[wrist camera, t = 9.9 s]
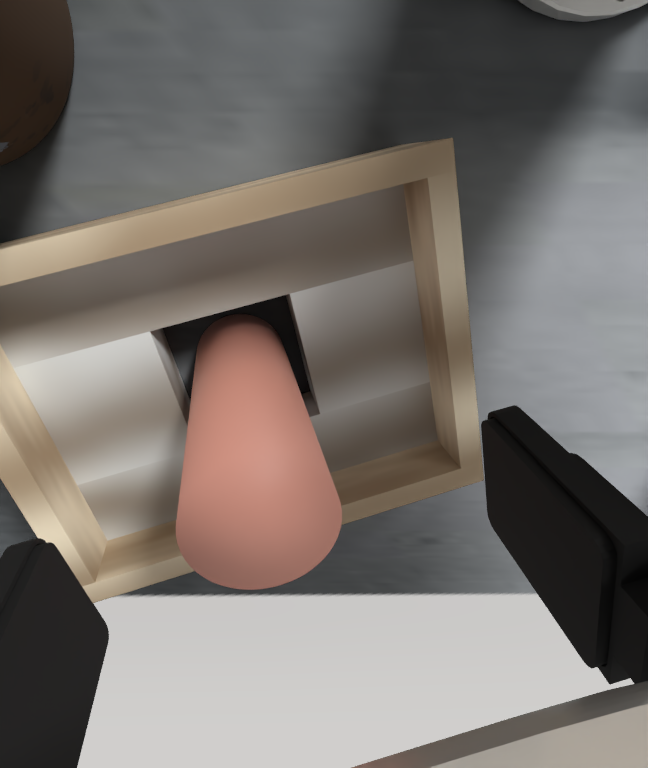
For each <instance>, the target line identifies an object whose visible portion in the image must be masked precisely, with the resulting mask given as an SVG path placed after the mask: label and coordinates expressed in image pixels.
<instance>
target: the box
mask: <svg viewBox="0 0 648 768" xmlns="http://www.w3.org/2000/svg"><path fill="white" fill-rule="evenodd" d="M283 295H286V297H287V301H288V305H289V309H290V313H291V317H292V321H293V325H294V328H295V332H296V336H297V340H298V344H299V348H300V352H301V356H302V359H303V363H304V367H305V371H306V375H307V379H308V383H309V387H310V392H306V393H303V394H301V395H302V398H303V401H304V403H305V406H306V409H307V412H308V414H309V417H310V420H311V423H312V425H313V428H314V431H315V433H316V436H317V439H318V442H319V444H320V447H321V450H322V453H323V455H324V458H325V461H326V464H327V466H328V469H329V472H330V474H331V477H332V480H333V483H334V485H335V488H336V491H337V494H338V496H339V499H340V502H341V508H342V523H341V525H343V524H346V523H349V522H352V521H356V520H359V519H362V518H365V517H368V516H372V515H375V514H378V513H381V512H384V511H387V510H391V509H394V508H397V507H400V506H403V505H407V504H410V503H413V502H416V501H419V500H422V499H426V498H429V497H432V496H435V495H438V494H442V493H445V492H448V491H451V490H454V489H457V488H461V487H464V486H467V485H470V484H473V483H477V482H480V481H483V480H484V477H483V466H482V455H481V443H480V432H479V421H478V410H477V399H476V388H475V377H474V366H473V355H472V344H471V332H470V321H469V310H468V299H467V288H466V277H465V266H464V255H463V244H462V232H461V221H460V210H459V199H458V188H457V177H456V166H455V155H454V144H453V138H447V139H440V140H432V141H425V142H417V143H410V144H402V145H398V146H394V147H390V148H386V149H381V150H377V151H373V152H369V153H365V154H361V155H357V156H353V157H349V158H345V159H341V160H337V161H333V162H329V163H325V164H321V165H317V166H312V167H308V168H304V169H300V170H296V171H292V172H288V173H284V174H280V175H276V176H272V177H268V178H264V179H260V180H256V181H252V182H247V183H243V184H239V185H235V186H231V187H227V188H223V189H219V190H215V191H211V192H207V193H203V194H199V195H195V196H191V197H187V198H183V199H178V200H174V201H170V202H166V203H162V204H158V205H154V206H150V207H146V208H142V209H138V210H134V211H130V212H126V213H122V214H118V215H113V216H109V217H105V218H101V219H97V220H93V221H89V222H85V223H81V224H77V225H73V226H69V227H65V228H61V229H57V230H53V231H49V232H44V233H40V234H36V235H32V236H28V237H24V238H20V239H16V240H12V241H8V242H4V243H0V479H1V480H2V482H3V483H4V485H5V486H6V488H7V490H8V491H9V493H10V494H11V496H12V498H13V499H14V501H15V502H16V504H17V506H18V507H19V509H20V510H21V512H22V513H23V515H24V517H25V518H26V520H27V521H28V523H29V525H30V526H31V528H32V529H33V531H34V533H35V534H36V536H37V537H38V538H41V539H43V540H45V541H46V543H48V542H51V543H53V544H54V545H55V546H56V547H57V548H58V550H59V552H60V553H61V555H62V556H63V558H64V559H65V561H66V562H67V564H68V565H69V567H70V569H71V570H72V572H73V573H74V575H75V576H76V578H77V579H78V581H79V583H80V584H81V586H82V587H83V589H84V590H85V592H86V593H87V595H88V596H89V598H90V600H91V601H92V603H95V602H98V601H101V600H104V599H107V598H111V597H114V596H117V595H120V594H123V593H127V592H130V591H133V590H136V589H139V588H143V587H146V586H149V585H152V584H155V583H158V582H162V581H165V580H168V579H171V578H174V577H178V576H181V575H184V574H187V573H190V572H193V571H195V570H193V569H192V568H191V567H190V566H189V564H188V563H187V562H186V561H185V559H184V557H183V556H182V554H181V552H180V549H179V547H178V544H177V539H176V519H177V511H178V503H179V494H180V486H181V478H182V469H183V461H184V453H185V444H186V436H187V428H188V419H189V411H190V403H191V401H190V399H189V396H188V394H187V391H186V388H185V386H184V383H183V380H182V378H181V375H180V373H179V370H178V367H177V365H176V362H175V360H174V357H173V354H172V352H171V349H170V347H169V344H168V341H167V339H166V336H165V334H164V331H163V328H164V327H168V326H172V325H175V324H179V323H183V322H187V321H190V320H194V319H198V318H201V317H205V316H209V315H213V314H216V313H220V312H224V311H228V310H231V309H235V308H239V307H242V306H246V305H250V304H254V303H257V302H261V301H265V300H268V299H272V298H276V297H280V296H283Z"/></svg>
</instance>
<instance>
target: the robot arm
mask: <svg viewBox="0 0 648 768" xmlns="http://www.w3.org/2000/svg"><path fill="white" fill-rule="evenodd" d="M518 1H520V2H521V3H523V4H524V5H525V6H527V7H528V8H530V9H531V10H533V11H536V12H538V13H541V14H544V15H547V16H549V17H552V18H555V19H557V20H567V21H578V22H588V21H594V20H600V19H606V18H612V17H614V16H617V15H619V14H622V13H625V12H627V11H630V10H633V9H636V8H639V7H641V6H643V5H645V4H647V3H648V0H518ZM481 429H482V443H483V457H484V471H485V485H486V499H487V512H488V517H489V520H490V523H491V525H492V527H493V529H494V531H495V532H496V534H497V535H498V536H499V538H500V539H501V541H502V542H503V544H504V545H505V547H506V548H507V550H508V551H509V553H510V554H511V556H512V557H513V558H514V560H515V561H516V563H517V564H518V566H519V567H520V569H521V570H522V572H523V573H524V575H525V576H526V578H527V579H528V580H529V582H530V583H531V585H532V586H533V588H534V589H535V591H536V592H537V594H538V595H539V597H540V598H541V600H542V601H543V602H544V604H545V605H546V607H547V608H548V609H549V611H550V613H551V614H552V616H553V617H554V619H555V620H556V621H557V623H558V624H559V626H560V627H561V629H562V630H563V632H564V633H565V635H566V636H567V638H568V639H569V640H570V642H571V643H572V645H573V646H574V648H575V649H576V651H577V652H578V654H579V655H580V657H581V658H582V660H583V661H584V662H585V663H586V664H587V665H588V666H589V667H590V668H595V667H598V668H599V670H600V671H601V672H602V674H603V675H604V677H605V678H606V680H607V681H608V683H609V684H613V683H616V682H619V681H622V680H625V679H628V678H631V679H632V681H633V682H634V683H635V684H633V685H629V686H624V687H619V688H616V689H611V690H607V691H604V692H600V693H596V694H593V695H589V696H586V697H583V698H579V699H576V700H572V701H569V702H565V703H562V704H558V705H555V706H551V707H548V708H544V709H541V710H538V711H534V712H530V713H527V714H524V715H520V716H517V717H513V718H511V719H507V720H504V721H501V722H497V723H494V724H491V725H488V726H484V727H481V728H478V729H475V730H471V731H468V732H465V733H462V734H458V735H455V736H452V737H449V738H446V739H442V740H439V741H436V742H433V743H430V744H426V745H423V746H420V747H416V748H413V749H410V750H407V751H404V752H400V753H398V754H394V755H391V756H387V757H384V758H381V759H378V760H374V761H371V762H368V763H365V764H362V765H359V766H355V767H352V768H648V516H646V515H645V514H644V513H643V512H642V511H641V510H640V509H639V508H637V507H636V506H635V505H634V504H633V503H632V502H631V501H630V500H628V499H627V498H626V497H625V496H624V495H623V494H622V493H621V492H620V491H618V490H617V489H616V488H615V487H614V486H613V485H612V484H611V483H609V482H608V481H607V480H606V479H605V478H604V477H603V476H602V475H600V474H599V473H598V472H597V471H596V470H595V469H594V468H593V467H592V466H590V465H589V464H588V463H587V462H586V461H585V460H584V459H582V458H581V457H580V456H578V455H577V454H573V453H569V452H567V451H566V450H565V449H564V448H563V447H562V446H561V445H560V444H559V443H558V442H556V441H555V440H554V439H553V438H552V437H551V436H550V435H549V434H548V433H547V432H545V431H544V430H543V429H542V428H541V427H540V426H539V425H538V424H537V423H536V422H535V421H533V420H532V419H531V418H530V417H529V416H528V415H527V414H526V413H525V412H524V411H522V410H521V409H520V408H519V407H517V406H510V407H507V408H503V409H500V410H496V411H492V412H490V413H489V414H488V420H485V421H483V422H482V424H481ZM108 639H109V634H108V628H107V625H106V623H105V621H104V620H103V618H102V617H101V615H100V613H99V612H98V610H97V609H96V607H95V606H94V604H93V603H92V601H91V600H90V598H89V596H88V595H87V593H86V592H85V590H84V589H83V587H82V586H81V584H80V583H79V581H78V579H77V578H76V576H75V575H74V573H73V572H72V570H71V569H70V567H69V565H68V564H67V562H66V561H65V559H64V558H63V556H62V555H61V553H60V552H59V550H58V548H57V547H56V546H55V545H54V544H53V543H51V542H48V543H46V541H45V540H43V539H41V538H36V539H33V540H29V541H26V542H22V543H18V544H15V545H11V546H9V547H8V548H7V549H6V550H5V551H4V553H3V555H2V557H1V558H0V768H77V765H78V761H79V757H80V753H81V749H82V745H83V741H84V737H85V733H86V729H87V725H88V721H89V717H90V713H91V709H92V705H93V701H94V697H95V693H96V689H97V684H98V681H99V676H100V673H101V669H102V665H103V661H104V657H105V653H106V649H107V645H108Z"/></svg>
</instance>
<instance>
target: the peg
mask: <svg viewBox="0 0 648 768" xmlns="http://www.w3.org/2000/svg"><path fill="white" fill-rule="evenodd" d="M341 523H342V508H341V502H340V499H339V496H338V494H337V491H336V488H335V485H334V483H333V480H332V477H331V474H330V472H329V469H328V466H327V464H326V461H325V458H324V455H323V453H322V450H321V447H320V444H319V442H318V439H317V436H316V433H315V431H314V428H313V425H312V423H311V420H310V417H309V414H308V412H307V409H306V406H305V403H304V401H303V398H302V395H301V392H300V390H299V387H298V384H297V382H296V379H295V376H294V373H293V371H292V368H291V365H290V362H289V360H288V357H287V354H286V352H285V349H284V346H283V343H282V341H281V338H280V336H279V334H278V333H277V332H276V330H275V329H274V328H273V327H272V326H271V325H270V324H269V323H267V322H266V321H264V320H263V319H260V318H258V317H256V316H252V315H247V314H233V315H229V316H225V317H223V318H221V319H218V320H217V321H215V322H214V323H212V324H211V325H210V326H209V327H208V328H207V329H206V330H205V331H204V333H203V334H202V336H201V338H200V340H199V343H198V346H197V353H196V361H195V369H194V378H193V386H192V394H191V403H190V411H189V419H188V428H187V436H186V444H185V453H184V461H183V469H182V478H181V486H180V494H179V503H178V511H177V519H176V539H177V544H178V547H179V549H180V552H181V554H182V556H183V557H184V559H185V561H186V562H187V563H188V564H189V566H190V567H191V568H192V569H193V570H195V571H196V572H197V573H198V574H200V575H201V576H202V577H204V578H206V579H207V580H209V581H211V582H213V583H216V584H219V585H222V586H225V587H229V588H235V589H243V590H256V589H265V588H271V587H275V586H279V585H283V584H285V583H288V582H291V581H293V580H295V579H297V578H299V577H301V576H303V575H304V574H306V573H308V572H309V571H310V570H312V569H313V568H314V567H316V566H317V565H318V564H319V563H320V562H321V561H322V560H323V559H324V558H325V557H326V556H327V554H328V553H329V552H330V550H331V549H332V547H333V546H334V544H335V542H336V540H337V538H338V535H339V532H340V529H341Z"/></svg>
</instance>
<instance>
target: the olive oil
mask: <svg viewBox="0 0 648 768" xmlns="http://www.w3.org/2000/svg"><path fill="white" fill-rule="evenodd" d="M73 67H74V39H73V29H72V23H71V17H70V13H69V8H68V4H67V1H66V0H0V166H2V165H4V164H7V163H9V162H11V161H13V160H15V159H17V158H19V157H21V156H22V155H24V154H25V153H27V152H28V151H30V150H31V149H32V148H34V147H35V146H36V145H37V144H38V143H39V142H40V141H41V140H42V139H43V138H44V137H45V136H46V135H47V134H48V132H49V131H50V130H51V129H52V127H53V126H54V124H55V123H56V121H57V119H58V118H59V116H60V114H61V112H62V110H63V107H64V105H65V103H66V100H67V97H68V94H69V90H70V86H71V81H72V75H73Z"/></svg>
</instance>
